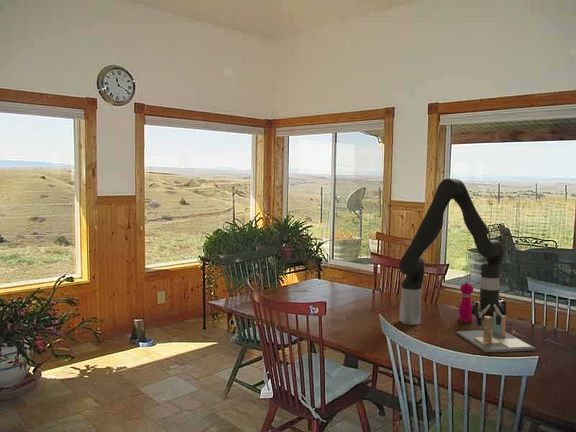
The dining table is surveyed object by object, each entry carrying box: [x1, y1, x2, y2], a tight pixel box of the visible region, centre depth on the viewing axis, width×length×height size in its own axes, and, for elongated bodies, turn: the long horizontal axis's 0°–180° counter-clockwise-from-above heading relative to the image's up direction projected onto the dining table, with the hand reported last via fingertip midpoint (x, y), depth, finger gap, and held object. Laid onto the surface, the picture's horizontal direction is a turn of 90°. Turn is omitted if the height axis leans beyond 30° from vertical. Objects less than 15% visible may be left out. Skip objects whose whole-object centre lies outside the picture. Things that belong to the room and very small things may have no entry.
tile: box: [492, 312, 507, 337], centre depth 212 cm, size 2×7×9 cm, turn 9°
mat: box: [456, 329, 536, 354], centre depth 206 cm, size 22×24×1 cm
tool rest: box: [496, 337, 533, 348], centre depth 201 cm, size 10×10×1 cm
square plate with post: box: [474, 315, 501, 345], centre depth 202 cm, size 8×7×11 cm
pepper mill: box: [457, 280, 474, 323], centre depth 236 cm, size 7×7×20 cm
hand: (488, 325), depth 201 cm, fingers open, 8 cm apart
